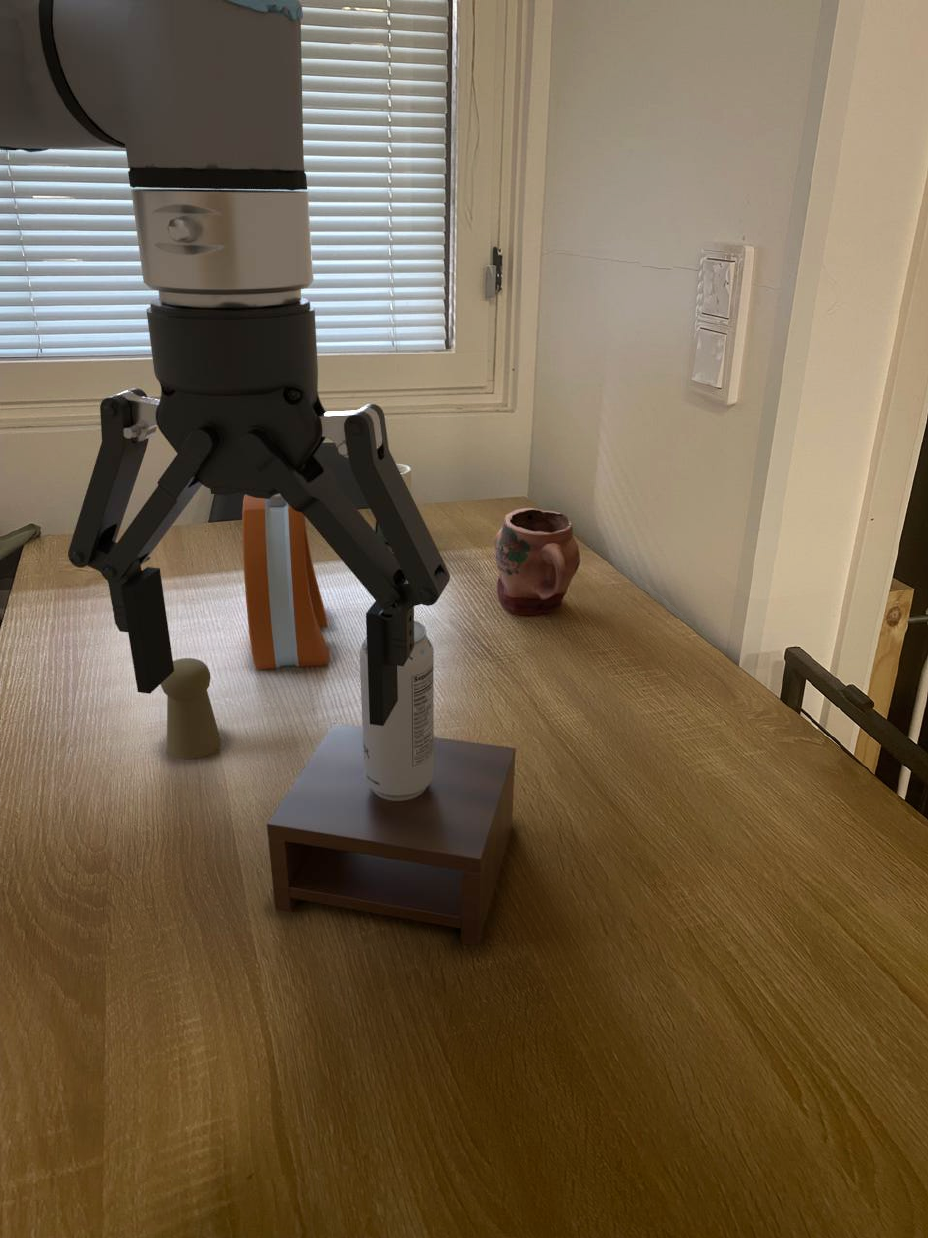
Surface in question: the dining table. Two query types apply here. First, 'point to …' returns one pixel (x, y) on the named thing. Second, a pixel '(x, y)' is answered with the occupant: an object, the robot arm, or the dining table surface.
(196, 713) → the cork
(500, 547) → the pink ceramic mug
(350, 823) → the shelf
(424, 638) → the energy drink can
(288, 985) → the dining table surface
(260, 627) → the alarm clock
